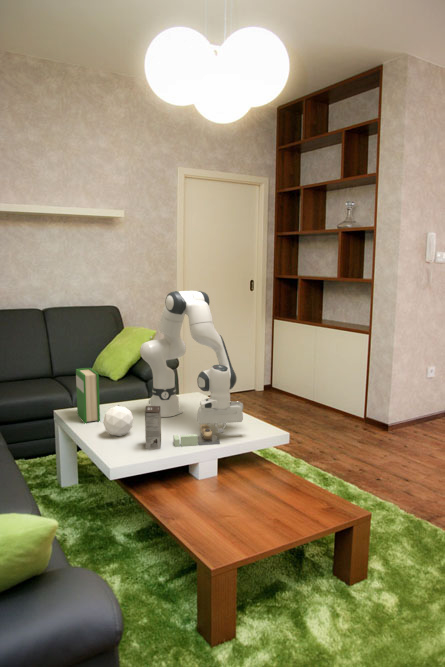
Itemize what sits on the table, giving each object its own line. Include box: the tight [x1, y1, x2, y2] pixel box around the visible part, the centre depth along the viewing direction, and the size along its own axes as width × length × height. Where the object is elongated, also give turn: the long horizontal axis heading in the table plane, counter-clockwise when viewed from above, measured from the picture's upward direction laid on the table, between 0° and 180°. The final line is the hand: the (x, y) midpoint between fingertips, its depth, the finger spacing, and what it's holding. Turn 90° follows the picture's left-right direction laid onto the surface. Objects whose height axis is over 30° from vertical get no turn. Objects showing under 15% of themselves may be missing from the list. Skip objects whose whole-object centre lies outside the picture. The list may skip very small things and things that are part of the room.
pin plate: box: [197, 434, 221, 446], centre depth 229 cm, size 9×9×1 cm
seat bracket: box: [172, 433, 199, 448], centre depth 226 cm, size 6×10×4 cm, turn 101°
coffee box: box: [144, 405, 162, 450], centre depth 223 cm, size 9×6×16 cm
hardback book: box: [75, 367, 101, 424], centre depth 264 cm, size 18×7×24 cm, turn 27°
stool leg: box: [199, 424, 213, 440], centre depth 234 cm, size 14×4×4 cm, turn 11°
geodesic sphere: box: [102, 404, 135, 437], centre depth 238 cm, size 14×14×14 cm
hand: (220, 432), depth 235 cm, fingers closed
